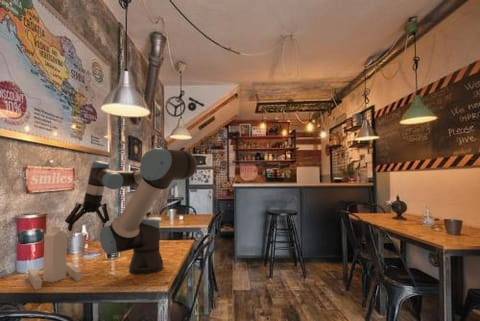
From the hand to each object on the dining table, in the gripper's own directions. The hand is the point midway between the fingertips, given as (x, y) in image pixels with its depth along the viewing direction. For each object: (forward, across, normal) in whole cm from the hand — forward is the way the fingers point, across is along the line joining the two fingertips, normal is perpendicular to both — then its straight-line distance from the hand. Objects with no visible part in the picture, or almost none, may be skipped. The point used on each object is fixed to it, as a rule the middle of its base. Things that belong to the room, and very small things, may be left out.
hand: (84, 236), depth 141 cm
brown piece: (+14, +14, +10) cm, 22 cm away
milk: (+14, +14, +10) cm, 23 cm away
